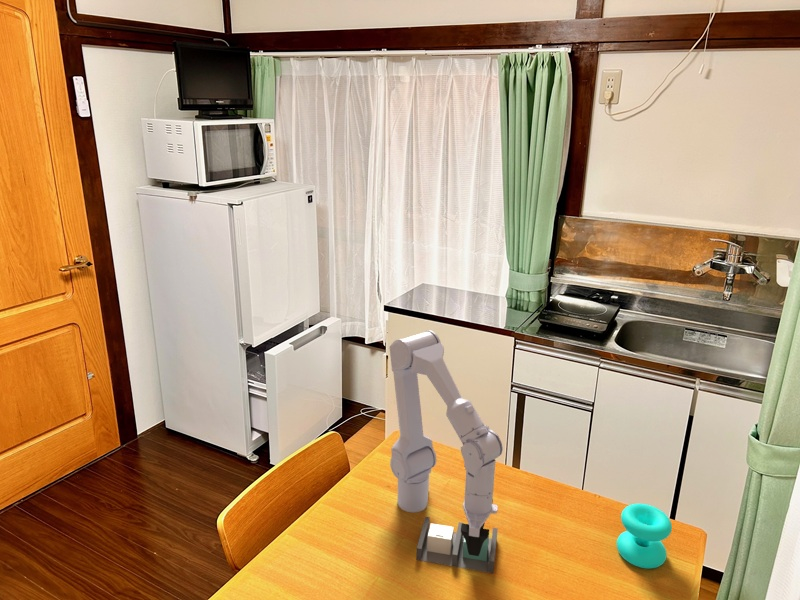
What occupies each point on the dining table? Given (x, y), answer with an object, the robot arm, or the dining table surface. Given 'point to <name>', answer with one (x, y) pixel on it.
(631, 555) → the turquoise spool
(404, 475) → the robot arm
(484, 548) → the teal box
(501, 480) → the dining table surface
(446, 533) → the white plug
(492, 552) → the gray shelf unit
